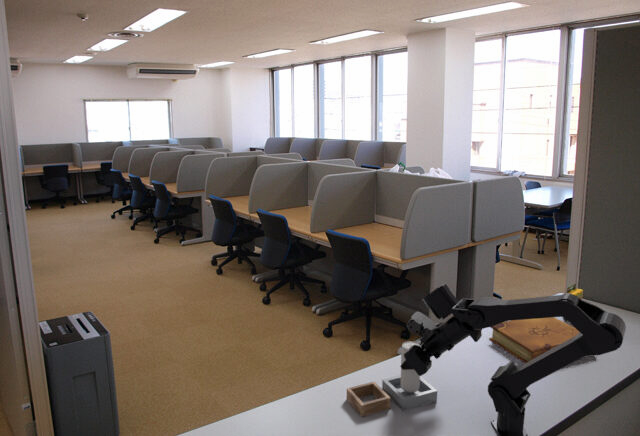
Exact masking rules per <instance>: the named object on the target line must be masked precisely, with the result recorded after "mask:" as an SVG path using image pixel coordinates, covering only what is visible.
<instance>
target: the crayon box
mask: <svg viewBox="0 0 640 436" xmlns="http://www.w3.org/2000/svg"><path fill="white" fill-rule="evenodd" d="M576 286H577V282H576V283H574V284H572V285H570V286H568V287H567V288H566V293H570V294H573V295H575V296H577V297H578V298H580V299H581V300H583V293H584V290H583V289H581V288H576ZM562 319H563V320H565V321H567V320H566V319H565V318H563V317H562Z"/></svg>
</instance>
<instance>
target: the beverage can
mask: <svg viewBox="0 0 640 436" xmlns="http://www.w3.org/2000/svg"><path fill="white" fill-rule="evenodd" d="M420 344H421V343H418V342H416V341H410V340H408V341H405V342H403V343H402V345H401V351H400V352H401V353H400V355H401V356H400V358H401V359H400V366H401V365H402V364H403V362H404V361H405V360H406V359H405V357H404V353H405V352H406V351H407V350H408V349H409V348H410V347H411V346H413V345H418V346H420ZM400 375H401V385H400V386H401V388H402V389H403V390H404V391H405V392H408V393H414V392H416V391H418V390H419V384H420V376H419V375H418V374H417V373H416V371H415V370H414V369H410V370H403V369H402V368H401V367H400Z"/></svg>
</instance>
